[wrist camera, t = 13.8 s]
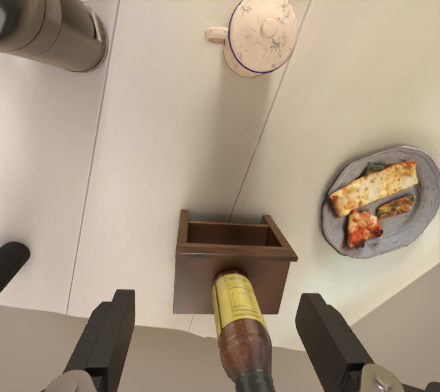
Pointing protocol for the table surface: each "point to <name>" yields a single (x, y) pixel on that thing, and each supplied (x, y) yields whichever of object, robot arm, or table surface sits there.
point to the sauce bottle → (242, 333)
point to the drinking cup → (11, 261)
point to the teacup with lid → (257, 36)
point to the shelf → (229, 262)
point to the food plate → (381, 202)
